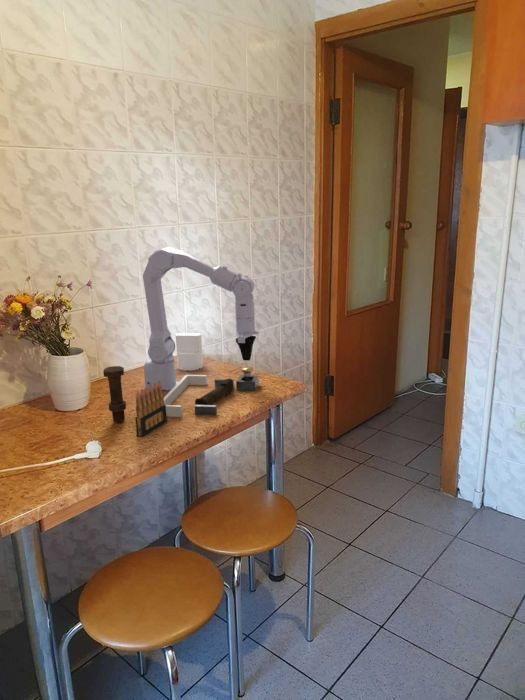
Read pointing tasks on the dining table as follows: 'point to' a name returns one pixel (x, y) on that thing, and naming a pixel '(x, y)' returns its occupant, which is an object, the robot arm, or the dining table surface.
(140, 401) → the ammunition clip
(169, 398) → the white u-shaped bracket
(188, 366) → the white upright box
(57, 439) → the dining table surface
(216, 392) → the hand tool
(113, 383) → the bolt
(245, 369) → the release plunger
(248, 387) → the tool holder
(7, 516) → the dining table surface
